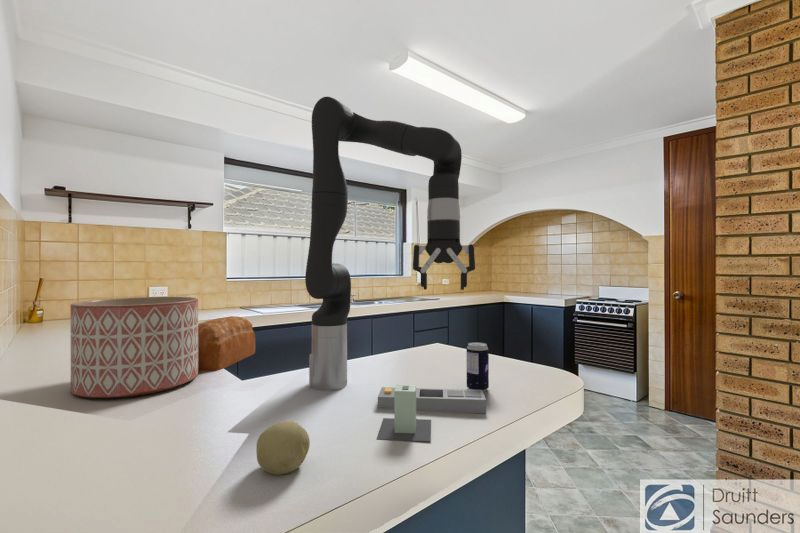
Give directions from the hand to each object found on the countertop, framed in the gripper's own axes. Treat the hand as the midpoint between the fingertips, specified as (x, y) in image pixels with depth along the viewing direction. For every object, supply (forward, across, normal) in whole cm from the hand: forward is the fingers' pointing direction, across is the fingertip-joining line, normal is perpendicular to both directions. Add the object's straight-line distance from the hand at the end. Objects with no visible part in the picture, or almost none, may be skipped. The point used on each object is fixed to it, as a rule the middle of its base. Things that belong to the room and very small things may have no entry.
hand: (443, 289), depth 90 cm
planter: (+27, -79, +2) cm, 84 cm away
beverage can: (+27, +9, +13) cm, 31 cm away
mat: (+27, -8, -15) cm, 32 cm away
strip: (+27, -3, -1) cm, 27 cm away
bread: (+27, -73, +28) cm, 83 cm away
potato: (+27, -25, -32) cm, 49 cm away
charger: (+27, -8, -15) cm, 31 cm away
